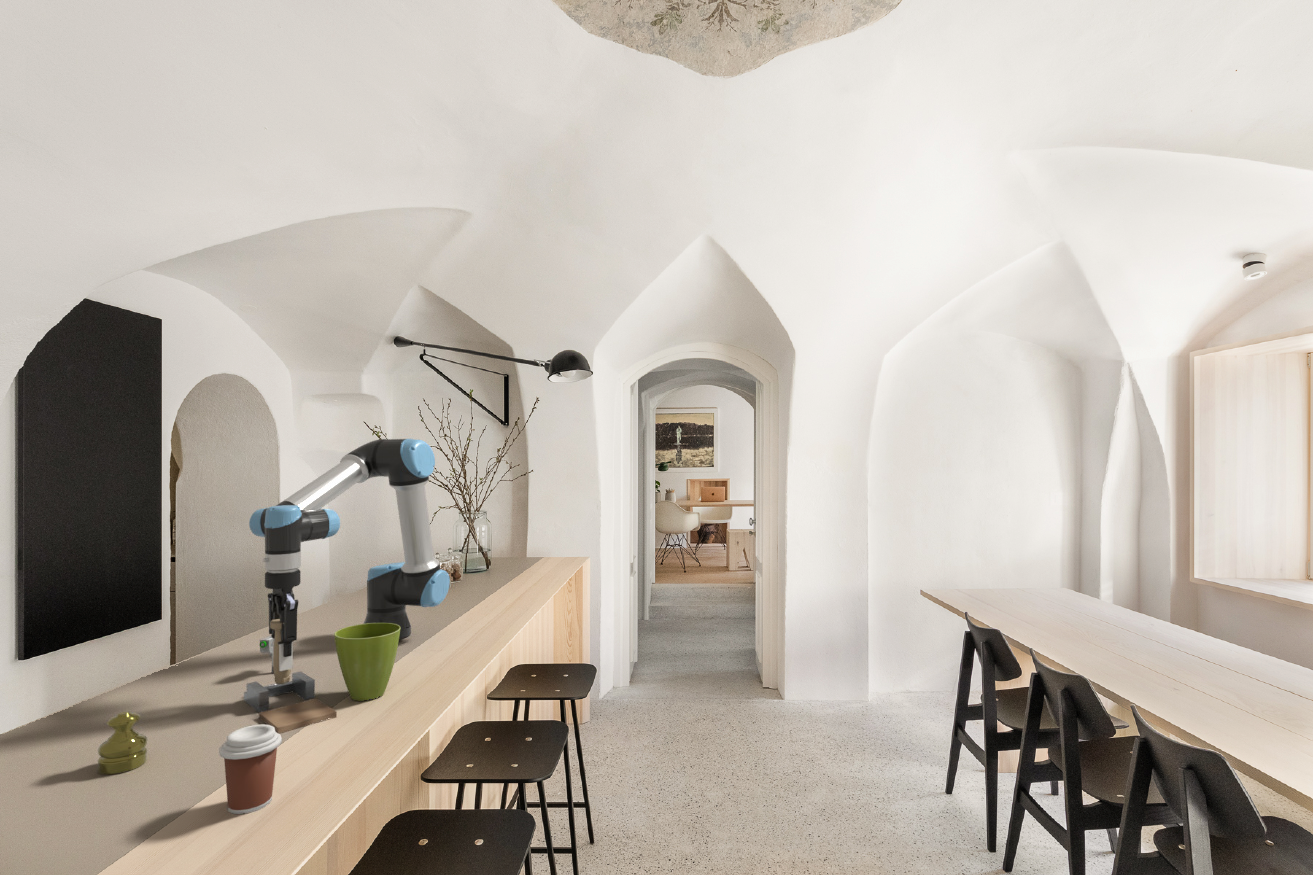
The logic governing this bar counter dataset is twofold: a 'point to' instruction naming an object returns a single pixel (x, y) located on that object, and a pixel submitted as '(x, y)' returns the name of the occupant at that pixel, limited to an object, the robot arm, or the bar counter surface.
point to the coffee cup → (250, 767)
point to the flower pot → (367, 657)
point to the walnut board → (297, 715)
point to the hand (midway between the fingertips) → (282, 666)
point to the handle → (280, 676)
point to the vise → (279, 691)
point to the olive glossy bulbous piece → (122, 746)
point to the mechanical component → (266, 646)
